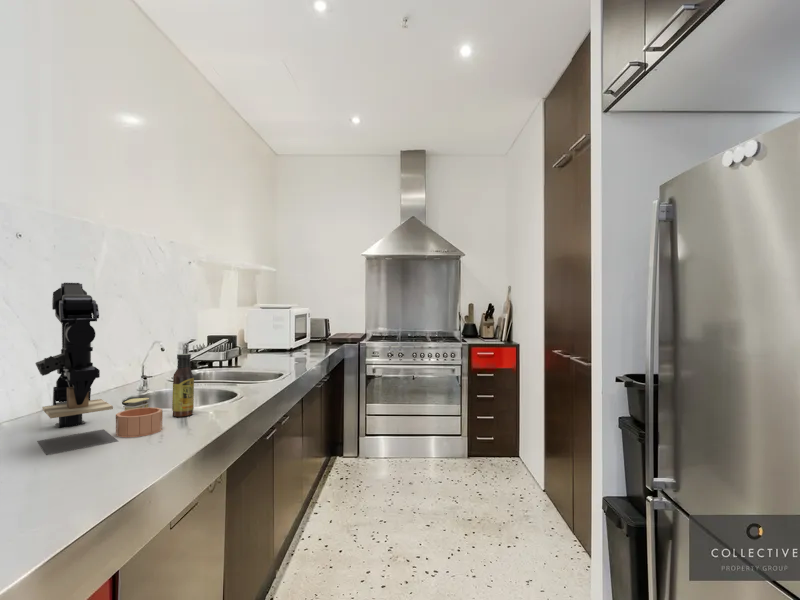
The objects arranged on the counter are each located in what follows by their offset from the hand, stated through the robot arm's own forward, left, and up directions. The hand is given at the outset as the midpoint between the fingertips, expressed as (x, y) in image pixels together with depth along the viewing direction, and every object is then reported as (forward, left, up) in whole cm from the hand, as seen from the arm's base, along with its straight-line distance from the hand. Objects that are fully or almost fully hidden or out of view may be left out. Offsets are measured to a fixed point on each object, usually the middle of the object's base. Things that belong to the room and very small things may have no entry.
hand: (77, 403), depth 117 cm
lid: (0, 0, -2) cm, 2 cm away
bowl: (+2, +14, -10) cm, 18 cm away
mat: (0, 0, -10) cm, 10 cm away
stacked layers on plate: (-20, +19, -11) cm, 30 cm away
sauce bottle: (-10, +30, -10) cm, 33 cm away
